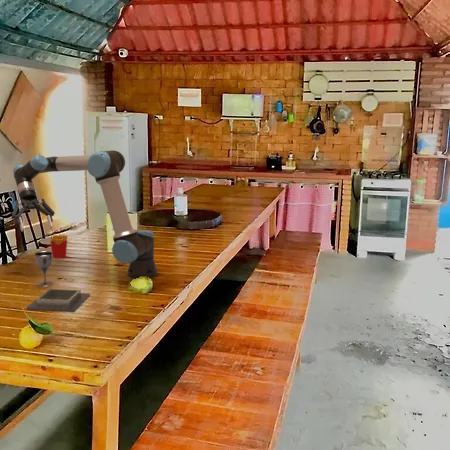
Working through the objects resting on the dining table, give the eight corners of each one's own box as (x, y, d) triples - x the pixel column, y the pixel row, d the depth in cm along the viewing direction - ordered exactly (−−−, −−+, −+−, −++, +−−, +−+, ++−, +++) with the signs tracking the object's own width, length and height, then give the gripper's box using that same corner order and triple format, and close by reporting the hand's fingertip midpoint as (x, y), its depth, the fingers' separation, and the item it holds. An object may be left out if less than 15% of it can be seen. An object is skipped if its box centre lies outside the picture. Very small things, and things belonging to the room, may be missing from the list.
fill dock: (89, 295, 231) (89, 288, 230) (74, 311, 211) (73, 303, 211) (46, 293, 232) (46, 286, 231) (26, 309, 213) (26, 301, 212)
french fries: (50, 258, 289) (49, 235, 286) (52, 256, 293) (51, 234, 290) (67, 258, 290) (66, 235, 288) (68, 256, 295) (68, 233, 292)
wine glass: (35, 287, 240) (33, 256, 237) (36, 281, 248) (35, 251, 245) (53, 286, 242) (52, 255, 239) (54, 280, 250) (52, 251, 247)
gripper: (50, 196, 266) (60, 230, 258) (-1, 198, 251) (8, 235, 243) (53, 187, 261) (64, 222, 253) (1, 189, 246) (11, 226, 238)
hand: (37, 228), depth 248 cm, fingers open, 13 cm apart
